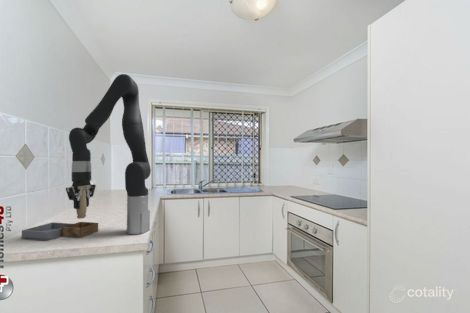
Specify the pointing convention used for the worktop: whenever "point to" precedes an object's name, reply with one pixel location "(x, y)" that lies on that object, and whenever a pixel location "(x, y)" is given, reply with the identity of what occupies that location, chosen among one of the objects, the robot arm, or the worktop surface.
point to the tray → (44, 231)
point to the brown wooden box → (79, 229)
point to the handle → (82, 202)
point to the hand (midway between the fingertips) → (81, 207)
